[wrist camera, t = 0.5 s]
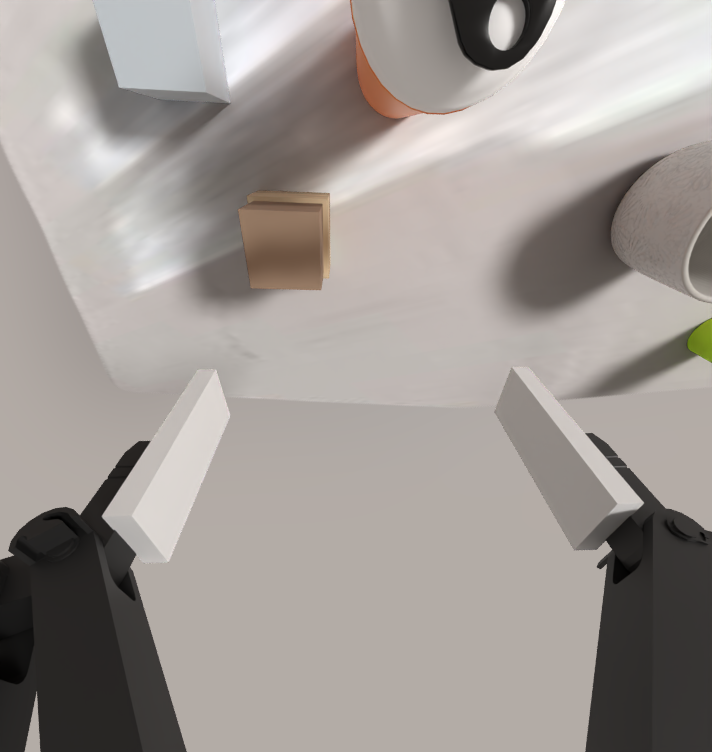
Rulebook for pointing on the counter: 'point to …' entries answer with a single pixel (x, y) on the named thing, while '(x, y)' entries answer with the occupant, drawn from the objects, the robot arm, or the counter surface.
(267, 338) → the counter surface
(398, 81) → the shaker bottle
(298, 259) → the walnut block
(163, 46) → the grey-blue cube
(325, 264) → the oak block
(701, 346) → the soap dispenser
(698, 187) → the planter
